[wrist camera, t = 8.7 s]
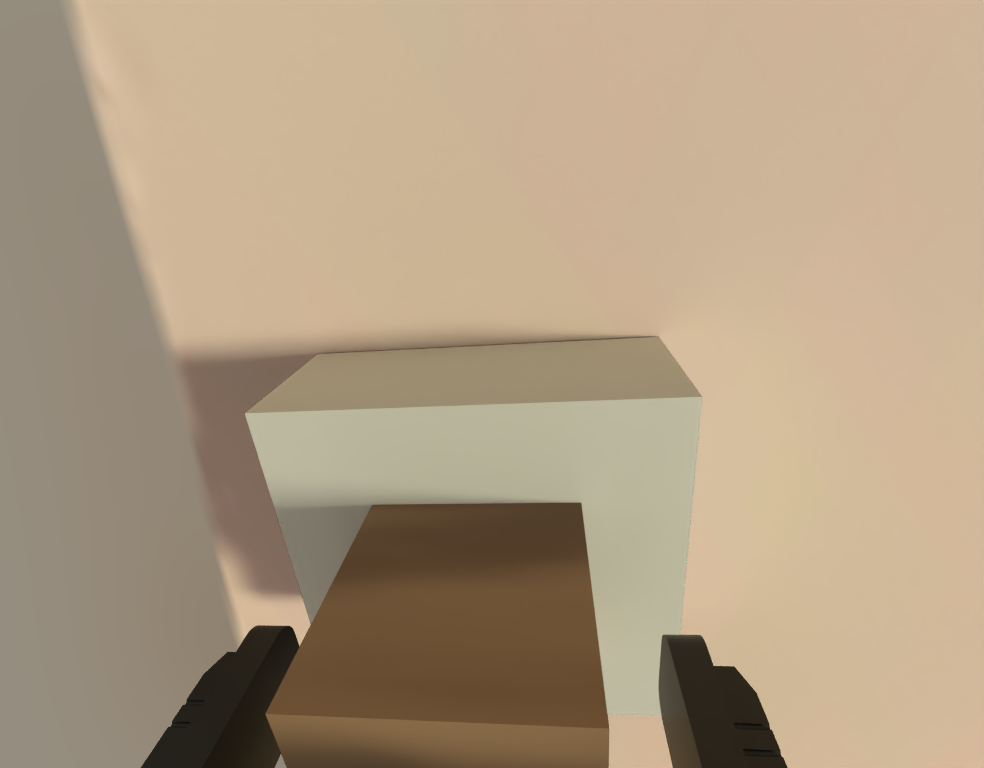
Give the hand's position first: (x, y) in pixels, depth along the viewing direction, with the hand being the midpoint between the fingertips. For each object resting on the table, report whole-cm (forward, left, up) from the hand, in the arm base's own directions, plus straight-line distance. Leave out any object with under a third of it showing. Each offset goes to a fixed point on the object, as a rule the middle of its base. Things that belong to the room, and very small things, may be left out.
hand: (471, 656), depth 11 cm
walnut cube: (0, 0, -2) cm, 2 cm away
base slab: (0, 0, -6) cm, 6 cm away
